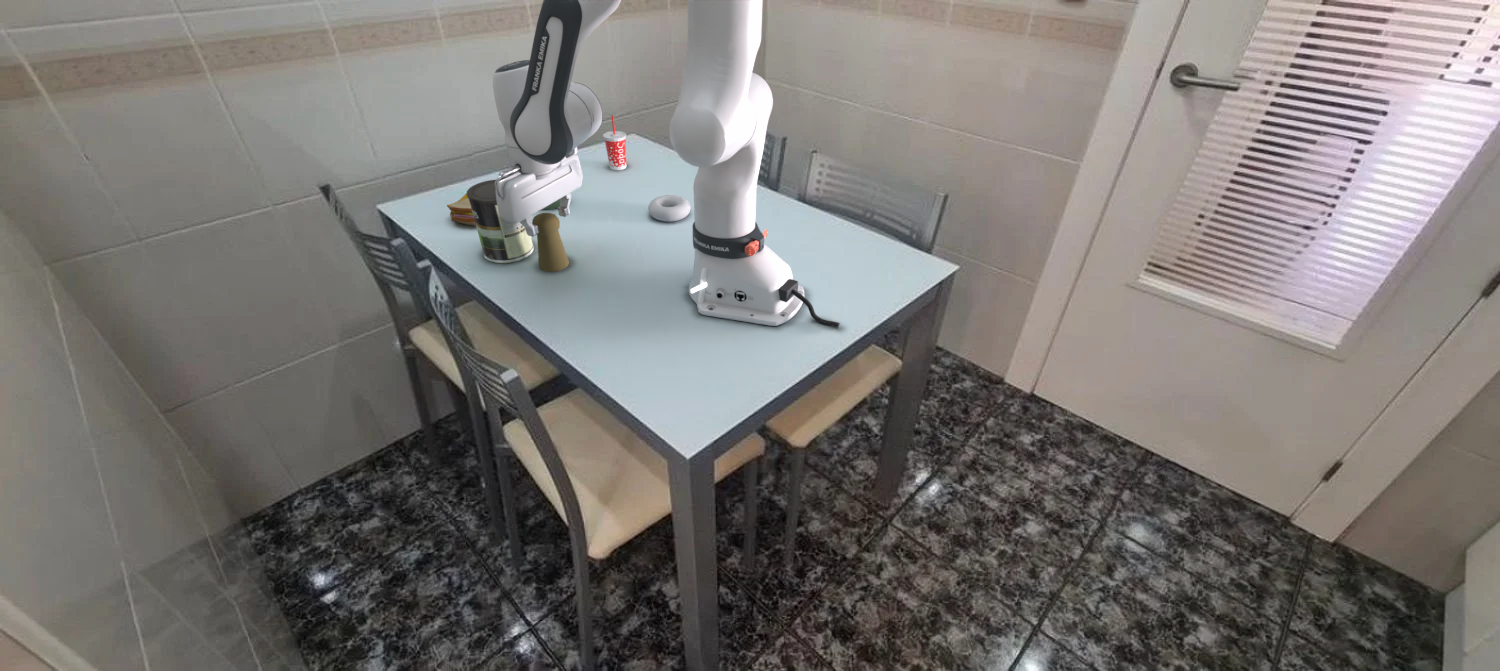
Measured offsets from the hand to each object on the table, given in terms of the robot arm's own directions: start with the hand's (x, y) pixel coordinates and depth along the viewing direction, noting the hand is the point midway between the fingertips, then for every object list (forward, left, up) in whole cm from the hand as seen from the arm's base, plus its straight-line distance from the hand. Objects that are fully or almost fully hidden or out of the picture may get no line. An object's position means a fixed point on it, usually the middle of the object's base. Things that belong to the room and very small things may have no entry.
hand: (549, 224), depth 121 cm
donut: (-8, -31, -9) cm, 33 cm away
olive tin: (+21, -23, -9) cm, 32 cm away
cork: (+1, 0, -9) cm, 9 cm away
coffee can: (+13, 0, -9) cm, 16 cm away
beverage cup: (+20, -50, -9) cm, 54 cm away
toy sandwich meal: (+31, -10, -9) cm, 34 cm away
